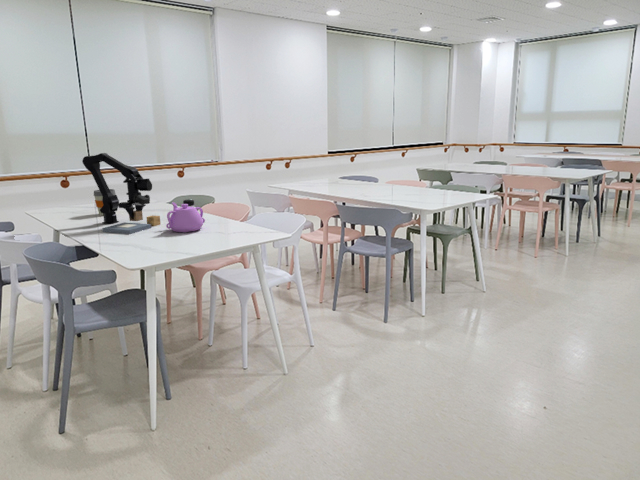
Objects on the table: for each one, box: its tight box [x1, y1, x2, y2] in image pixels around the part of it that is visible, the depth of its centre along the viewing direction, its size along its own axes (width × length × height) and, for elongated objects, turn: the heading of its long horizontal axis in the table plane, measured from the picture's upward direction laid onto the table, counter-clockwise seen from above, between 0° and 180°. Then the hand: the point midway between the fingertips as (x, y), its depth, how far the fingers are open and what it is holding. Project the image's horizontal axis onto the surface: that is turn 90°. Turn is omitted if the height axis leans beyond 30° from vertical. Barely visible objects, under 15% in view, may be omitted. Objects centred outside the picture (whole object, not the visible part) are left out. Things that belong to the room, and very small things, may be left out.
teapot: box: [165, 201, 206, 233], centre depth 259 cm, size 22×22×14 cm
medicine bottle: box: [182, 198, 199, 212], centre depth 284 cm, size 7×7×12 cm
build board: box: [102, 222, 152, 235], centre depth 261 cm, size 18×16×2 cm
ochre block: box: [146, 215, 161, 227], centre depth 273 cm, size 5×5×5 cm
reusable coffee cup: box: [93, 188, 116, 216], centre depth 308 cm, size 12×13×15 cm
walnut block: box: [128, 210, 144, 222], centre depth 278 cm, size 5×5×5 cm
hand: (136, 218), depth 278 cm, fingers closed on walnut block, 5 cm apart
